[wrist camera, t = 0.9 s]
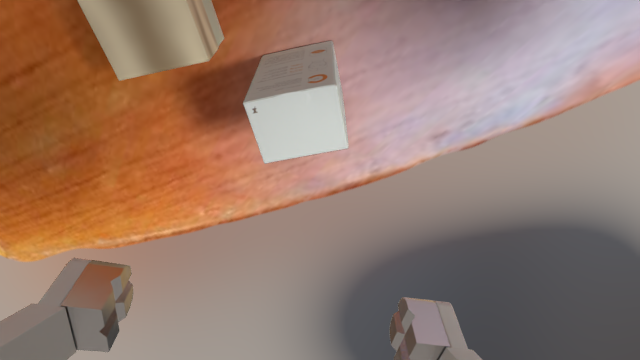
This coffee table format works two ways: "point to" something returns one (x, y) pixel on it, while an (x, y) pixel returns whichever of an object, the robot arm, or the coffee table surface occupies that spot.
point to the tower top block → (151, 34)
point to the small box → (297, 103)
